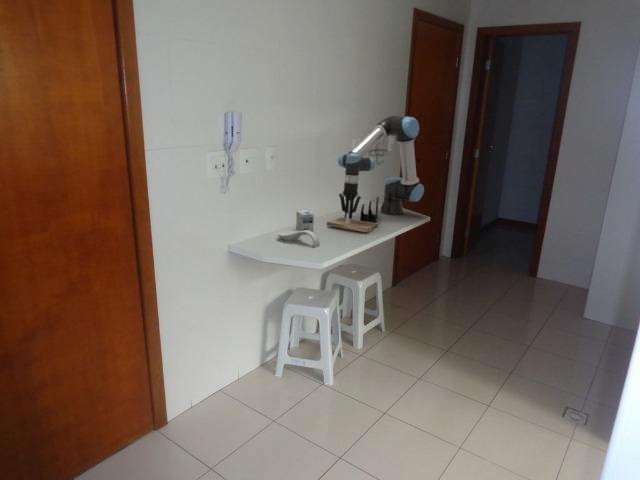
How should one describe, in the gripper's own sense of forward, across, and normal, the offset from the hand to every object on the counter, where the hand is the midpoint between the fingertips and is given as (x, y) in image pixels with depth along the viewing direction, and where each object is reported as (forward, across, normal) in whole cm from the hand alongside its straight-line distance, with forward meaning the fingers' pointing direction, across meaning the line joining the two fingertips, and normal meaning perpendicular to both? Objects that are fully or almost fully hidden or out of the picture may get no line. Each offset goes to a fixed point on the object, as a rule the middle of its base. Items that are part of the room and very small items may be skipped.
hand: (347, 224), depth 264 cm
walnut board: (+3, 0, +13) cm, 13 cm away
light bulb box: (+4, -19, -16) cm, 25 cm away
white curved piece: (+5, -12, -36) cm, 38 cm away
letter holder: (+3, +1, +31) cm, 31 cm away
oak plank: (+3, 0, +2) cm, 3 cm away
